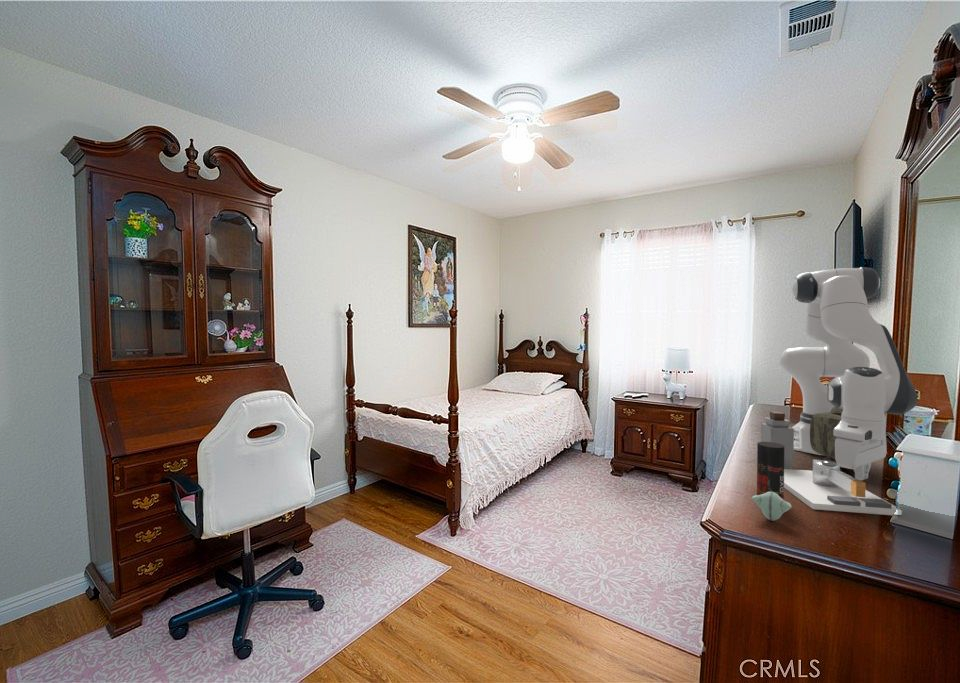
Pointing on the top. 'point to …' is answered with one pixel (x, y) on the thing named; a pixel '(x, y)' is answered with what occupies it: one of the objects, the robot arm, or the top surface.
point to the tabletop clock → (825, 432)
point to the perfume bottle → (779, 435)
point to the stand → (832, 495)
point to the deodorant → (770, 468)
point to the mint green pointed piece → (771, 505)
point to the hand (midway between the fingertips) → (861, 478)
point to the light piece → (836, 477)
